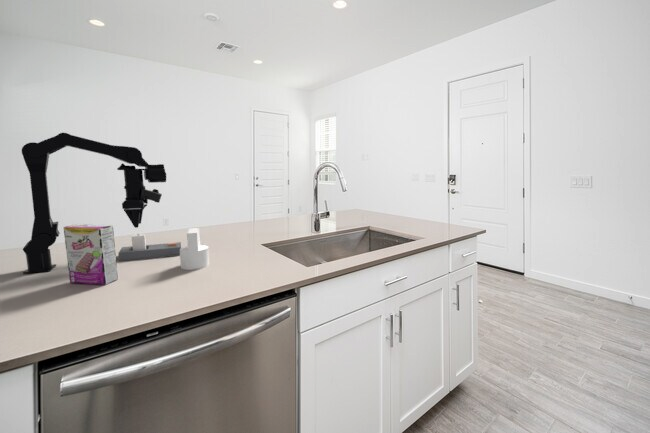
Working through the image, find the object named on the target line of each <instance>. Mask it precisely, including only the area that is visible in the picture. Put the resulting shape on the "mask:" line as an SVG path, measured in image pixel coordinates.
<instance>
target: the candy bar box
mask: <svg viewBox="0 0 650 433" xmlns="http://www.w3.org/2000/svg"><path fill="white" fill-rule="evenodd" d="M63 234H64V244H65V251H66V258H67V260H66V262H67V268H68V276H69V283H70V284H80V285H81V284H82V285H99V286H101V285H102V286H106V285H109V284H112V283H113V282H116V281H118V280H119V279H118V278H119V276H118V266H117V256H116V246H115V245H116V244H115V234H114V226H113V225H111V224H109V225H108V224H90V223H89V224H87V223H86V224H85V223H83V224H82V223H77V224H71V225H66V226H63Z"/></svg>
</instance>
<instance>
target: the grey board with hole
mask: <svg viewBox="0 0 650 433" xmlns="http://www.w3.org/2000/svg"><path fill="white" fill-rule="evenodd" d="M181 243H182V242H167V243H155V244H146V249H145V250H133V248H132V245H130V246H122V247H121V248H120V250H119V251H118V252H117V253H118V261H119V262H122V261H132V260H134V261H135V260H143V259H144V260H145V259H154V258H163V257H174V256H180V248H182V244H181Z"/></svg>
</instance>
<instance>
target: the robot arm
mask: <svg viewBox="0 0 650 433" xmlns="http://www.w3.org/2000/svg"><path fill="white" fill-rule="evenodd" d="M66 147H71V148H75V149H78V150H83V151H87V152H92V153H96V154H99V155H104V156H109V157H111V158H113V159H116V160H119V161H121V162H123V163H121V164H120V165H119V166H118V167H117V168H116V170H117V171H123V176H124V177H123V178H124V186H123V187H124V190H125V199H124V201H123V202H122V203H121V206H122V210H123V211H124V213H125V214H126V216H127V217H128V219H129V221H130V222H131V224H132V225H133V228H135V229H137V228H138V227H139V224H142V221H143V220H142V219H143V212H144V209H145V208H146V207H147V206H148V204H149V202H148V200H149V201H151V202H152V201H153V202H154V203H158V204H159V203H160V201H161V199H162V195H163V194H162V193H160V192H159V190H158V189H156V188H154V189H152V190H150V189H146V186H145V184H144V181H147V182H148V183H149V184H150V183H154V184H155V183H166V182H167V173H166V169H165V164H164V163H163V164H162V163H161V164H160V163H158V164H149V163H148V162H147V161H146V160H145V159H144V157H143V154H142V151H141V150H139V148H137V147H134V146H127V145H126V146H125V145H112V144H108V143H104V142H100V141H96V140H92V139H88V138H85V137H81V136H77V135H72V134H70V133H67V132H60V133H58V134H57V135H55V136H52V137H50V138H47V139H44V140H42V141H41V140H40V141H39V142H28V143H26V144H25V145H23V146H22V147H21V155H22V157H23V160H24V162H25V166H26V168H27V170H28V172H29V179H30V181H29V182H30V188H31V197H32V199H31V200H32V207H33V217H34V219H33V225H32V231H31V237H30V238H31V239H30V240H29V241H27V243H26V244H25V245H24V246H23V248H22V250H23V252H24V254H25V259H26V266H27V269H25V270H24V271H22V274H23V275H24V274H35V273H44V272H51V271H52V270H54V268H55V267H57V264H54V263H52V255H51V249H50V247H51V246H52V245H54V244H55V242H56V240H57V238H58V237H59V236H60V234H61V233H60V231H59V229H58V228H59V221H53V218H52V216H51V208H50V199H49V198H50V196H49V189H48V188H49V187H48V179H47V177H48V176H47V173H48V171H47V170H48V168H49V167H48V165H49V158H50V155H52V154H53V153H56V152H58V151H60V150H62V149H63V148H66ZM125 163H126V164H128V165H126V164H125ZM136 166H138V168H136ZM139 167H140V168H139Z"/></svg>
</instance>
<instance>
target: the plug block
mask: <svg viewBox="0 0 650 433" xmlns="http://www.w3.org/2000/svg"><path fill="white" fill-rule="evenodd" d="M146 245H147V241H146V233H136V234H132V235H131V246H132V248H133V250H145V249H146Z"/></svg>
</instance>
